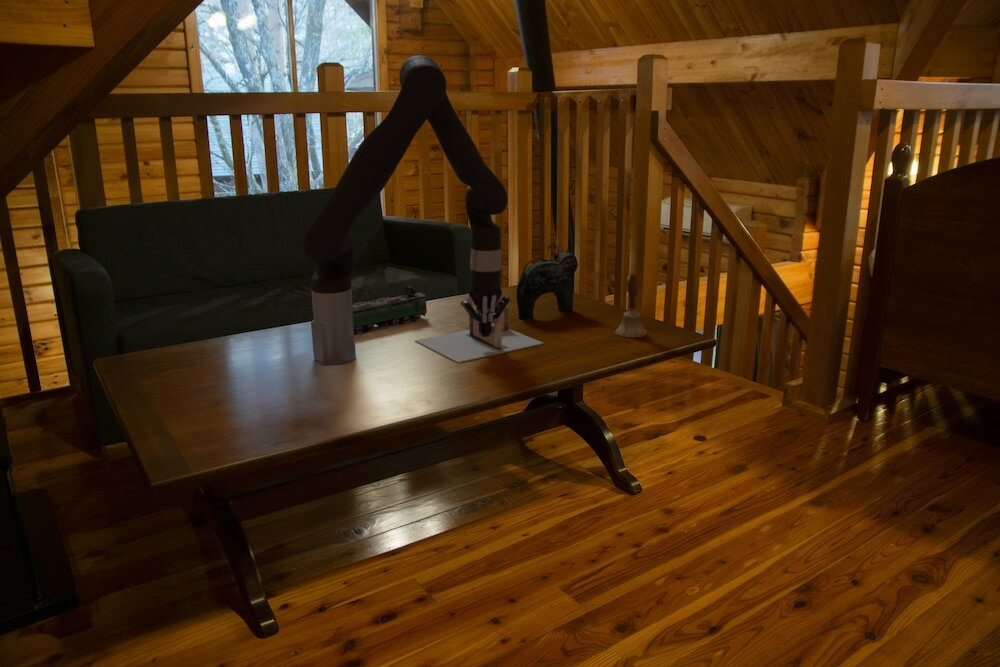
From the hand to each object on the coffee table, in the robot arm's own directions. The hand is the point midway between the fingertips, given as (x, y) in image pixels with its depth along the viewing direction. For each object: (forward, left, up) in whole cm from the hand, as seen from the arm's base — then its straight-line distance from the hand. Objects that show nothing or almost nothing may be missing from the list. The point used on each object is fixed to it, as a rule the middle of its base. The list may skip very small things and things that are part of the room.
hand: (485, 335), depth 194 cm
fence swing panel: (+3, +3, -3) cm, 5 cm away
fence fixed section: (+9, +11, -3) cm, 14 cm away
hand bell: (+39, -11, -4) cm, 41 cm away
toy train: (-13, +33, -4) cm, 36 cm away
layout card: (+2, +5, -4) cm, 7 cm away
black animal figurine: (+33, +17, -4) cm, 37 cm away
